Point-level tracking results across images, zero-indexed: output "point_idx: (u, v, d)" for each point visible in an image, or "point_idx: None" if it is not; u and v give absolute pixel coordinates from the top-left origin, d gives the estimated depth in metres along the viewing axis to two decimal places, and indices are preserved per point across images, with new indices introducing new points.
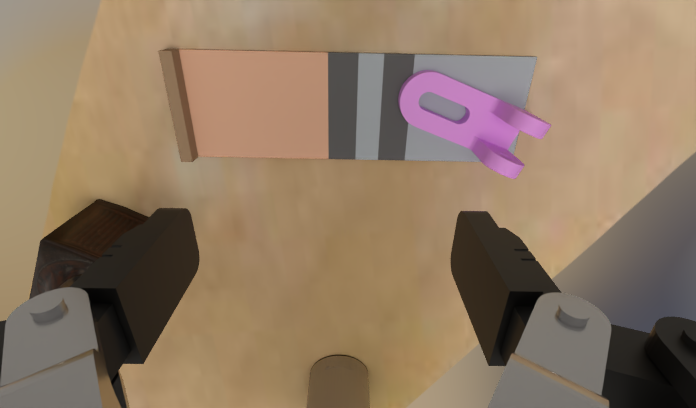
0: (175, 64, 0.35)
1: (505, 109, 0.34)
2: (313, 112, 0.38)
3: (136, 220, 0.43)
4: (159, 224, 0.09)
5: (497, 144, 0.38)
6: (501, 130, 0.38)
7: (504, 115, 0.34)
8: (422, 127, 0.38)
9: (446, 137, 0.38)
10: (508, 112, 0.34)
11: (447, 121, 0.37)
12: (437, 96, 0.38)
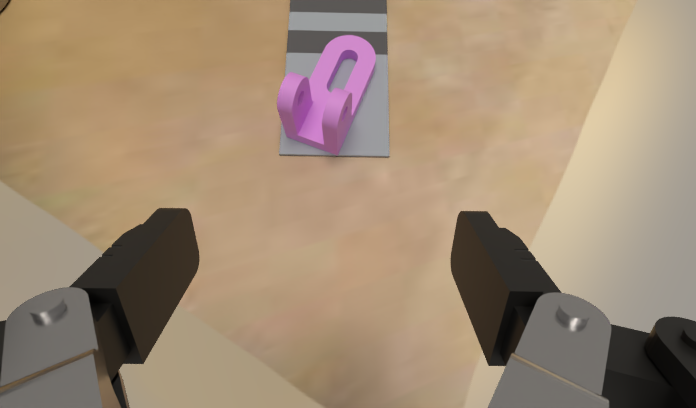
0: None
1: None
2: None
3: None
4: (159, 224, 0.09)
5: (304, 123, 0.36)
6: (319, 125, 0.36)
7: None
8: (323, 54, 0.38)
9: (313, 75, 0.37)
10: None
11: (329, 75, 0.37)
12: None
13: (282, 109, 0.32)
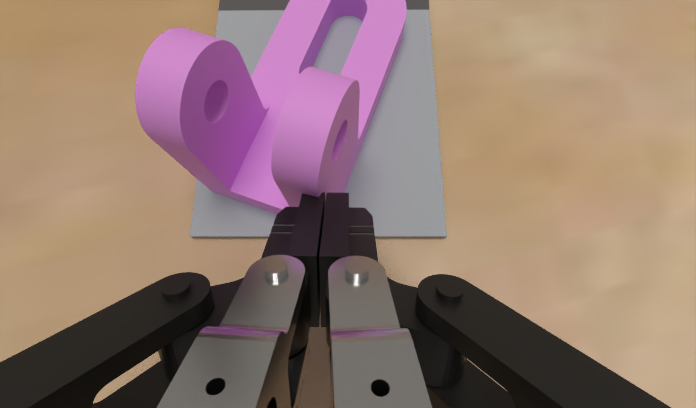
0: None
1: None
2: None
3: None
4: (313, 205, 0.10)
5: (246, 162, 0.15)
6: None
7: None
8: (292, 5, 0.17)
9: (268, 51, 0.17)
10: None
11: (305, 48, 0.17)
12: None
13: (159, 136, 0.11)
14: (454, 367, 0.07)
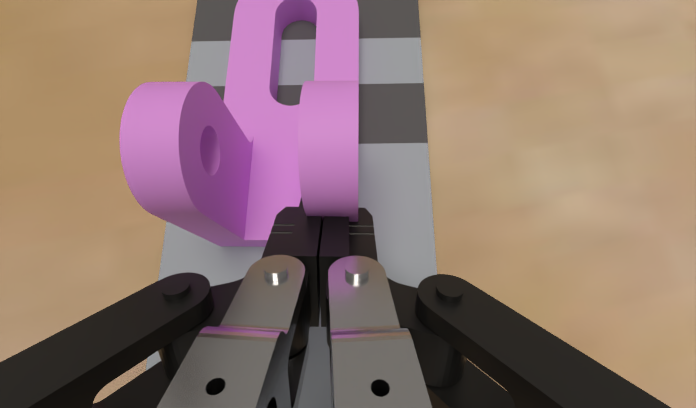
0: None
1: None
2: None
3: None
4: None
5: (250, 204, 0.14)
6: (289, 193, 0.14)
7: None
8: (237, 27, 0.16)
9: (230, 81, 0.15)
10: None
11: (267, 67, 0.15)
12: None
13: (162, 208, 0.10)
14: (454, 367, 0.07)
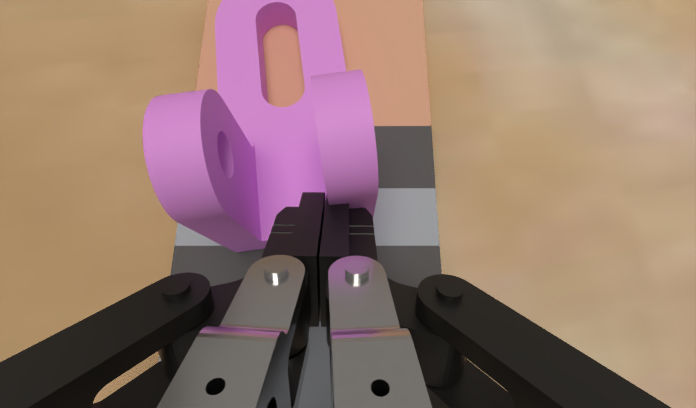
0: None
1: None
2: None
3: None
4: (313, 205, 0.10)
5: (261, 206, 0.14)
6: (298, 190, 0.14)
7: None
8: (220, 38, 0.16)
9: (222, 91, 0.16)
10: None
11: (256, 73, 0.16)
12: None
13: (190, 215, 0.10)
14: (454, 366, 0.07)
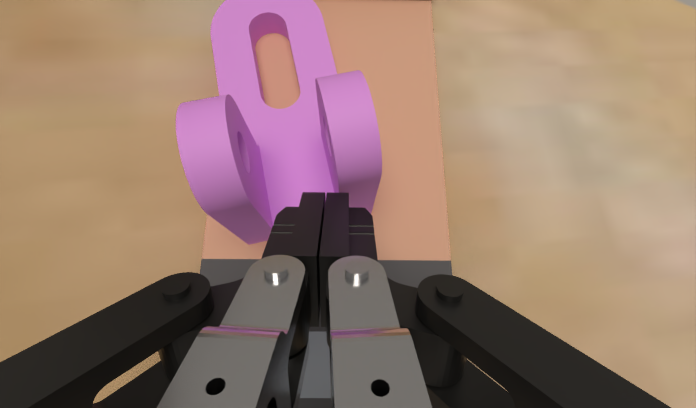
0: None
1: None
2: None
3: None
4: (313, 205, 0.10)
5: (271, 199, 0.15)
6: (303, 183, 0.16)
7: None
8: (217, 48, 0.18)
9: None
10: None
11: (254, 79, 0.17)
12: None
13: (219, 206, 0.11)
14: (454, 366, 0.07)
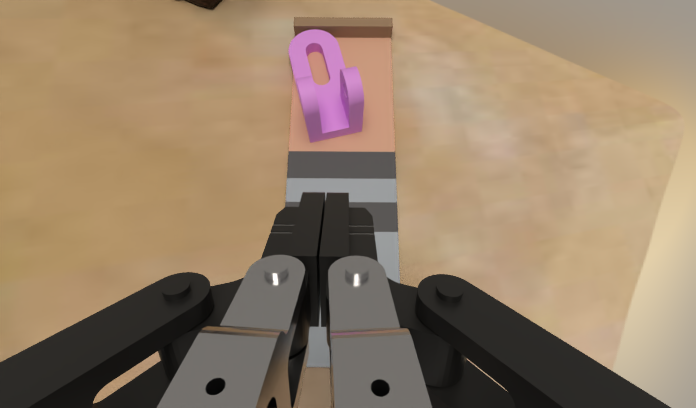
0: (381, 28, 0.41)
1: None
2: (338, 137, 0.38)
3: None
4: (313, 205, 0.10)
5: (320, 121, 0.37)
6: (333, 114, 0.37)
7: None
8: (292, 59, 0.40)
9: None
10: None
11: (310, 72, 0.39)
12: None
13: (309, 113, 0.33)
14: (454, 366, 0.07)
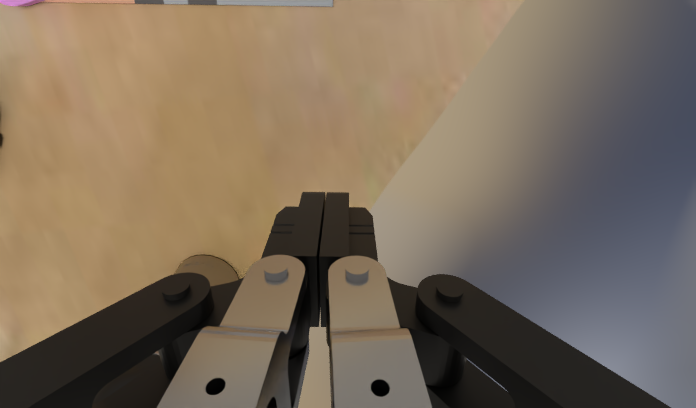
0: None
1: None
2: None
3: None
4: (313, 205, 0.10)
5: None
6: None
7: None
8: (25, 0, 0.37)
9: None
10: None
11: None
12: None
13: None
14: (454, 366, 0.07)
